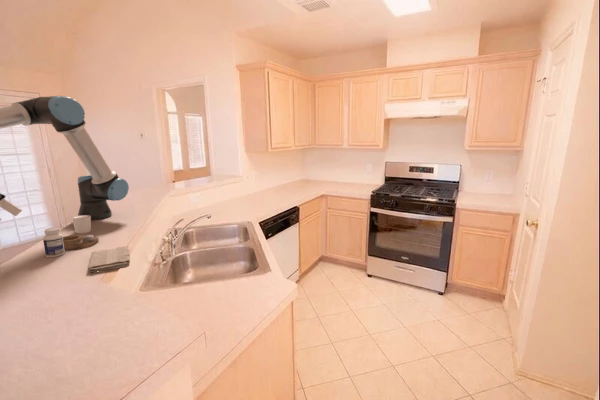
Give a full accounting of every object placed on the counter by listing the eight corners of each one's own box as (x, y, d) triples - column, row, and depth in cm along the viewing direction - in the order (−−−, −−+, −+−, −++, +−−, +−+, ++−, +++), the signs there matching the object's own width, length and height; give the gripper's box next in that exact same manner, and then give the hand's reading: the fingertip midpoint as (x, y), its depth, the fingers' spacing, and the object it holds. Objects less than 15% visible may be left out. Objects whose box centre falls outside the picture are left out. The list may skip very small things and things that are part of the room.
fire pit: (94, 236, 125) (93, 229, 125) (102, 244, 116) (101, 236, 115) (52, 243, 115) (51, 236, 115) (57, 253, 106) (56, 244, 105)
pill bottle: (48, 253, 105) (44, 227, 103) (66, 251, 108) (63, 226, 106) (43, 258, 101) (39, 232, 99) (62, 256, 103) (59, 230, 101)
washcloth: (88, 276, 89) (86, 267, 89) (90, 257, 104) (89, 249, 104) (131, 268, 96) (131, 259, 95) (128, 251, 111) (128, 243, 110)
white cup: (82, 234, 128) (80, 218, 127) (69, 232, 129) (67, 217, 128) (96, 229, 134) (94, 215, 133) (83, 228, 136) (82, 214, 134)
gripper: (-45, 178, 99) (18, 217, 108) (-110, 189, 77) (-24, 236, 86) (-27, 163, 100) (34, 202, 109) (-86, 169, 78) (-3, 218, 87)
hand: (9, 217), depth 97 cm, fingers open, 13 cm apart
